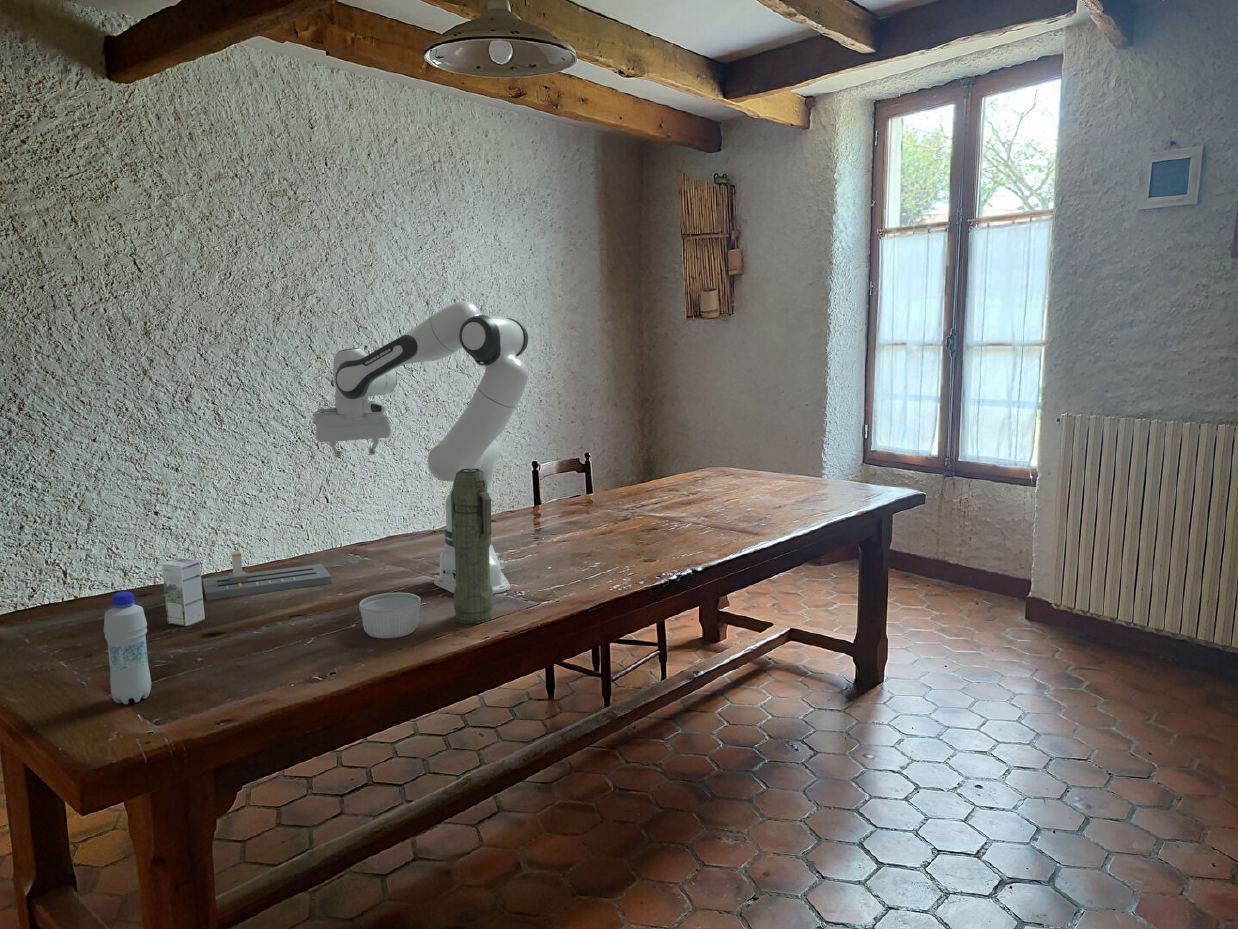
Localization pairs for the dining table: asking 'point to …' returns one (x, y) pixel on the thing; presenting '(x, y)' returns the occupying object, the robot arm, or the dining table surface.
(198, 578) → the syrup box
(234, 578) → the fader
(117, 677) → the bottle
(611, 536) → the dining table surface
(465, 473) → the thermos
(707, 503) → the dining table surface
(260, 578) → the console
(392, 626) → the ramekin
